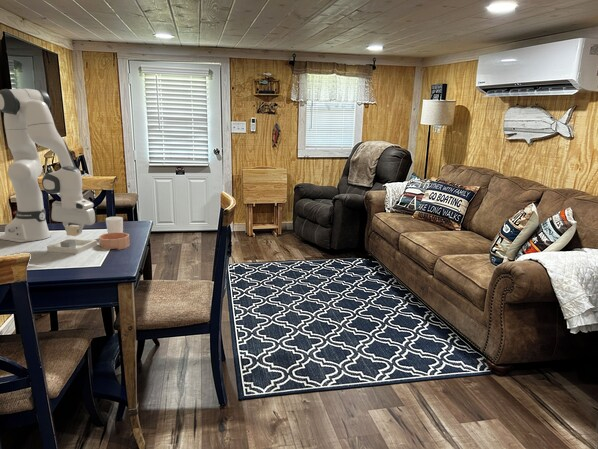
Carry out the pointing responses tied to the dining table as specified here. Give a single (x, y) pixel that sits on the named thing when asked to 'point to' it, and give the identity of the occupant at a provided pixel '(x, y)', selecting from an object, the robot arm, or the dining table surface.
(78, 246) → the parts tray
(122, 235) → the bowl
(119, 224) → the white cup
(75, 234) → the tan cube
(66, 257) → the dining table surface
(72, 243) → the grey cube
